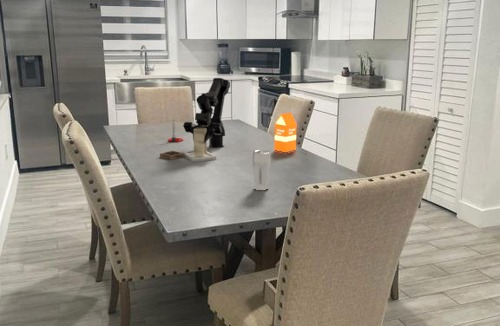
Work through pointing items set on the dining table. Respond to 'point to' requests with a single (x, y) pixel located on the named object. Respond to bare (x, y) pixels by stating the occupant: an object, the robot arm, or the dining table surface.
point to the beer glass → (261, 169)
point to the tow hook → (174, 136)
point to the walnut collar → (171, 155)
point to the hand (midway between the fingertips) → (199, 141)
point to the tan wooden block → (200, 142)
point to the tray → (200, 157)
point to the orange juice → (285, 133)
